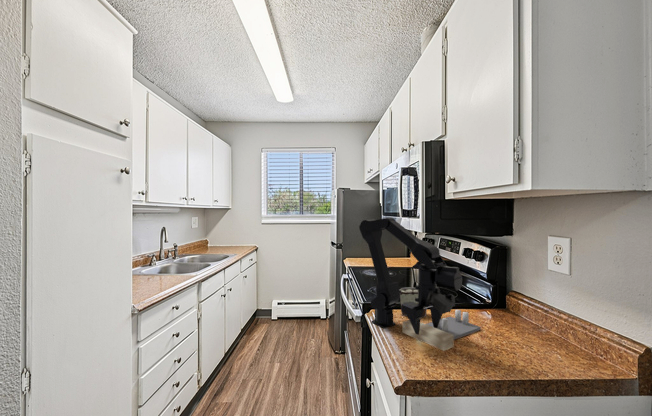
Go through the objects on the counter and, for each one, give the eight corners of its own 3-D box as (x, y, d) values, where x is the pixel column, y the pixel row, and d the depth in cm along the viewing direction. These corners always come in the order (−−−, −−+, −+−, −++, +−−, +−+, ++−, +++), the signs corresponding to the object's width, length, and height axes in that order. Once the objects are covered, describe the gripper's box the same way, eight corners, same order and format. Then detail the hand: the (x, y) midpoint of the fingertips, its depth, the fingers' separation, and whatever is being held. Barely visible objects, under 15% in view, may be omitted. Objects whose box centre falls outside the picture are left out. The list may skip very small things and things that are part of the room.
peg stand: (423, 327, 108) (423, 313, 108) (450, 318, 117) (450, 306, 117) (453, 340, 98) (453, 324, 98) (480, 329, 107) (480, 315, 107)
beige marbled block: (402, 333, 104) (402, 321, 104) (411, 330, 107) (411, 318, 107) (443, 352, 91) (444, 338, 91) (453, 347, 93) (453, 334, 93)
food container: (426, 311, 125) (426, 287, 125) (429, 316, 119) (430, 291, 119) (395, 310, 126) (396, 286, 126) (398, 315, 120) (398, 290, 120)
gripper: (429, 294, 87) (428, 347, 87) (466, 285, 97) (465, 333, 97) (400, 285, 96) (399, 333, 96) (437, 278, 106) (436, 322, 106)
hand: (426, 331), depth 99 cm, fingers open, 9 cm apart
